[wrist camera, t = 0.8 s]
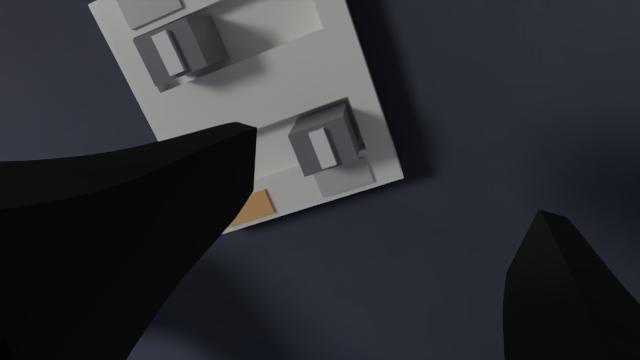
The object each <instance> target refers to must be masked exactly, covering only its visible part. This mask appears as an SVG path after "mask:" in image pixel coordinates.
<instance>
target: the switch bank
mask: <svg viewBox="0 0 640 360" xmlns="http://www.w3.org/2000/svg"><path fill="white" fill-rule="evenodd" d="M88 6H89V8H90V10H91V12H92V14H93V16H94V18H95V20H96V21H97V23H98V25H99V27H100V29H101V31H102V33H103V35H104V37H105V39H106V41H107V43H108V45H109V47H110V49H111V51H112V52H113V54H114V56H115V58H116V60H117V62H118V64H119V66H120V68H121V70H122V72H123V74H124V76H125V78H126V80H127V82H128V84H129V85H130V87H131V89H132V91H133V93H134V95H135V97H136V99H137V101H138V103H139V105H140V107H141V109H142V111H143V113H144V115H145V116H146V118H147V120H148V122H149V124H150V126H151V128H152V130H153V132H154V134H155V136H156V138H157V140H158V141H162V140H166V139H170V138H174V137H178V136H181V135H185V134H188V133H192V132H196V131H199V130H203V129H206V128H210V127H214V126H218V125H222V124H226V123H231V122H240V123H243V124H247V125H250V126H253V127H257V140H256V157H255V175H254V191H253V192H252V194H251V196H250V197H249V199H248V200H247V202H246V203H245V205H244V207H243V208H242V210H241V211H240V212H239V214H238V215H237V217H236V218H235V219H234V221H233V222H232V223H231V224H230V225H229V226H228V227H227V229H226V230H225V231H224V232H223V233H222V234H224V233H228V232H231V231H234V230H237V229H241V228H244V227H247V226H250V225H254V224H257V223H260V222H263V221H266V220H270V219H273V218H276V217H279V216H283V215H286V214H289V213H292V212H296V211H299V210H302V209H305V208H309V207H312V206H315V205H318V204H322V203H325V202H328V201H331V200H335V199H338V198H341V197H344V196H347V195H351V194H354V193H357V192H360V191H364V190H367V189H370V188H373V187H377V186H380V185H383V184H386V183H390V182H393V181H396V180H399V179H403V178H404V176H403V172H402V168H401V164H400V161H399V158H398V155H397V152H396V149H395V146H394V143H393V140H392V137H391V134H390V131H389V128H388V125H387V122H386V119H385V116H384V113H383V110H382V107H381V104H380V101H379V98H378V95H377V92H376V89H375V86H374V82H373V79H372V76H371V73H370V70H369V67H368V64H367V61H366V58H365V55H364V52H363V49H362V46H361V43H360V40H359V37H358V34H357V31H356V28H355V25H354V22H353V19H352V16H351V13H350V10H349V7H348V4H347V1H346V0H97V1H95V2H92V3H90V4H88ZM196 16H212V18H213V20H214V23H215V25H216V27H217V30H218V32H219V34H220V37H221V39H222V41H223V44H224V46H225V48H226V51H227V53H228V55H229V58H227V59H225V60H222V61H220V62H217V63H215V64H212V65H210V66H207V67H205V68H202V69H200V70H197V71H195V72H192V73H190V74H187V75H185V76H182V77H180V78H177V79H174V80H172V81H169V82H167V83H164V84H162V85H159V86H155V84H154V82H153V80H152V78H151V76H150V74H149V72H148V70H147V68H146V66H145V64H144V62H143V60H142V58H141V56H140V54H139V52H138V50H137V48H136V46H135V44H134V42H133V40H134V39H137V38H139V37H141V36H143V35H146V34H148V33H150V32H153V31H155V30H157V29H160V28H162V27H164V26H166V25H169V24H171V23H173V22H176V21H178V20H180V19H183V18H185V17H196ZM345 101H346V104H347V106H348V109H349V112H350V115H351V118H352V120H353V123H354V126H355V129H356V132H357V134H358V137H359V160H356V161H353V162H349V163H346V164H343V165H340V166H337V167H334V168H331V169H328V170H325V171H322V172H319V173H316V174H313V175H309V176H306V177H305V176H304V174H303V172H302V169H301V167H300V164H299V162H298V159H297V157H296V155H295V152H294V150H293V147H292V145H291V142H290V140H289V138H288V134H289V133H290V131H291V129H292V127H293V126H294V124H295V122H296V121H297V119H298V118H300V117H303V116H305V115H308V114H311V113H314V112H317V111H319V110H322V109H325V108H328V107H331V106H333V105H336V104H339V103H342V102H345Z"/></svg>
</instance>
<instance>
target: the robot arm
mask: <svg viewBox="0 0 640 360" xmlns="http://www.w3.org/2000/svg"><path fill="white" fill-rule="evenodd" d="M256 140H257V127H253V126H250V125H247V124H243V123H240V122H231V123H226V124H222V125H218V126H214V127H210V128H206V129H203V130H199V131H196V132H192V133H188V134H185V135H181V136H178V137H174V138H170V139H166V140H162V141H158V142H154V143H149V144H145V145H141V146H137V147H133V148H128V149H123V150H117V151H112V152H106V153H99V154H93V155H86V156H77V157H66V158H55V159H44V160H31V161H3V162H0V360H126V359H127V357H128V356H129V354H130V353H131V351H132V350H133V348H134V346H135V345H136V343H137V342H138V340H139V339H140V337H141V336H142V334H143V333H144V331H145V330H146V328H147V327H148V326H149V324H150V323H151V321H152V320H153V318H154V317H155V315H156V314H157V312H158V311H159V309H160V308H161V307H162V305H163V304H164V302H165V301H166V300H167V298H168V297H169V295H170V294H171V293H172V291H173V290H174V288H175V287H176V286H177V284H178V283H179V282H180V281H181V280H182V278H183V277H184V276H185V275H186V273H187V272H188V271H189V270H190V269H191V268H192V267H193V266H194V264H195V263H196V262H197V261H198V260H199V259H200V258H201V257H202V256H203V254H204V253H205V252H206V251H207V250H208V249H209V248H210V247H211V246H212V244H213V243H214V242H215V241H216V240H217V239H218V238H219V237H220V235H221V234H222V233H223V232H224V231H225V230H226V229H227V227H228V226H229V225H230V224H231V223H232V222H233V221H234V219H235V218H236V217H237V215H238V214H239V212H240V211H241V210H242V208H243V207H244V205H245V203H246V202H247V200H248V199H249V197H250V196H251V194H252V192H253V191H254V175H255V157H256ZM503 333H504V355H505V360H640V304H639V303H638V302H637V301H636V300H635V299H634V298H633V297H632V295H631V294H630V293H629V292H628V291H627V290H626V289H625V287H624V286H623V285H622V284H621V283H620V282H619V280H618V279H617V278H616V277H615V276H614V274H613V273H612V272H611V271H610V270H609V268H608V267H607V266H606V265H605V263H604V262H603V261H602V260H601V258H600V257H599V256H598V255H597V254H596V252H595V251H594V250H593V248H592V247H591V246H590V245H589V243H588V242H587V241H586V240H585V238H584V237H583V236H582V235H581V233H580V232H579V231H578V230H577V228H576V227H575V226H574V225H573V224H572V223H571V222H570V220H569V219H568V218H566V217H563V216H560V215H556V214H553V213H549V212H546V211H542V210H538V212H537V214H536V216H535V218H534V220H533V222H532V224H531V226H530V228H529V230H528V232H527V234H526V236H525V238H524V240H523V241H522V243H521V245H520V247H519V249H518V251H517V253H516V255H515V257H514V259H513V261H512V263H511V265H510V267H509V269H508V271H507V273H506V282H505V290H504V300H503Z"/></svg>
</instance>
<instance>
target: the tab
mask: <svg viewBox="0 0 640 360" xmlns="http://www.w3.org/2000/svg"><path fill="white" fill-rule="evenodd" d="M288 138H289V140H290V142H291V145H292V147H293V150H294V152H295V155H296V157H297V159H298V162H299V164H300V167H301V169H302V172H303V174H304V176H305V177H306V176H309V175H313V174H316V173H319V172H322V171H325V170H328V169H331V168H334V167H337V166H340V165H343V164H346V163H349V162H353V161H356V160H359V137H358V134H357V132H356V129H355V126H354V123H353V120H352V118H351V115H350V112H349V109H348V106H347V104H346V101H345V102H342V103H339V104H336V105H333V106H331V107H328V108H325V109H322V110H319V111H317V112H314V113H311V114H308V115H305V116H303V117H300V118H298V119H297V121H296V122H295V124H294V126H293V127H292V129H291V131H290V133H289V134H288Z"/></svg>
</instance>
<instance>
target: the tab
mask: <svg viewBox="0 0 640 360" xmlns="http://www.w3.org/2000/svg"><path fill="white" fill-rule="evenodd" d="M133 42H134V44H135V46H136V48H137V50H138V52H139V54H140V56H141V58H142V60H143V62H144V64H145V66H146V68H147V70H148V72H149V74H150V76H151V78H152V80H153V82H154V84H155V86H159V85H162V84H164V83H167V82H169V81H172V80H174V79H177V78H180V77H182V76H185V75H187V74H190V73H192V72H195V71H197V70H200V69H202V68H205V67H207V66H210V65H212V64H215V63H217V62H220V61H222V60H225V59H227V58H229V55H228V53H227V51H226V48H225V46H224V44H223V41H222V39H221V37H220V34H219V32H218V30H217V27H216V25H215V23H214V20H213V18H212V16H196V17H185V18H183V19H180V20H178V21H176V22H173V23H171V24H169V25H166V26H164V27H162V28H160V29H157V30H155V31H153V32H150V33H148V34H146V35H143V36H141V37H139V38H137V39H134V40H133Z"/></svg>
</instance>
